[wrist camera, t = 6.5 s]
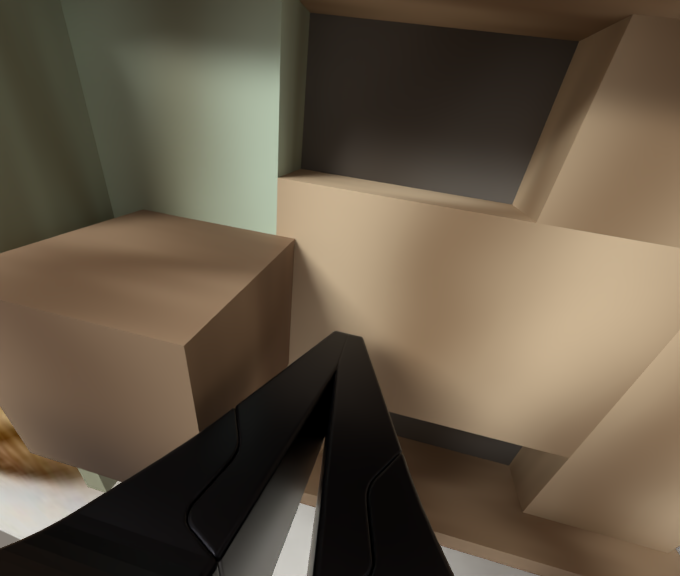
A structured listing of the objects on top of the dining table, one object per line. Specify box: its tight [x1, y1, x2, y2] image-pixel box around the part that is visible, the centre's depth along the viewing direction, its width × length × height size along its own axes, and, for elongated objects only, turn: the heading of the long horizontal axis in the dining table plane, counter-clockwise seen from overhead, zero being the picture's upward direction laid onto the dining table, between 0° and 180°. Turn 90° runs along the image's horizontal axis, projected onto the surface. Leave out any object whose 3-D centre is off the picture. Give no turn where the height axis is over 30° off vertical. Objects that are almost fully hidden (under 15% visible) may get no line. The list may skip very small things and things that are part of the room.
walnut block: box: [0, 210, 295, 482], centre depth 7 cm, size 4×4×4 cm
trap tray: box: [0, 0, 680, 576], centre depth 8 cm, size 21×16×5 cm
